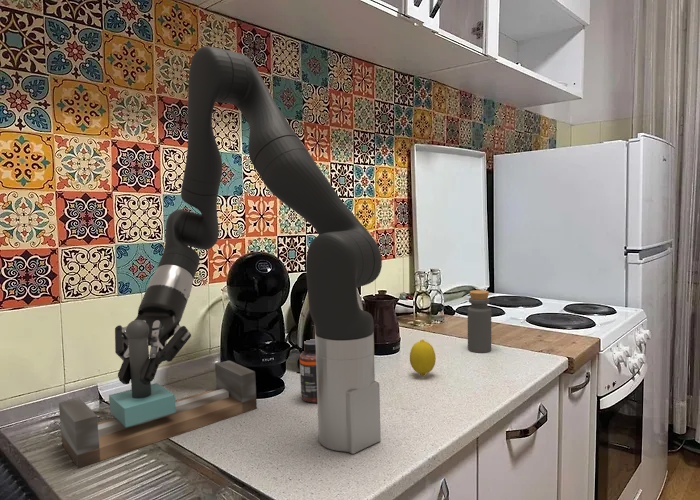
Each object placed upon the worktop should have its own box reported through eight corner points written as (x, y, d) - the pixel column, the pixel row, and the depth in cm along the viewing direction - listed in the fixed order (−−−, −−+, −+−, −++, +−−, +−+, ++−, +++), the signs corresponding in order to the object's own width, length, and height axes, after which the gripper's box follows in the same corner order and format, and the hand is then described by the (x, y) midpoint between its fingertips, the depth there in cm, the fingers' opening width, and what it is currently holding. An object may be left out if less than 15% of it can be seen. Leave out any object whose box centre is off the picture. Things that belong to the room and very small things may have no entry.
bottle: (463, 348, 126) (462, 291, 125) (481, 345, 128) (480, 288, 127) (477, 354, 121) (477, 294, 119) (496, 350, 123) (496, 292, 122)
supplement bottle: (331, 391, 99) (329, 336, 98) (332, 403, 93) (330, 344, 92) (301, 392, 98) (299, 337, 97) (300, 404, 92) (298, 346, 91)
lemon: (434, 371, 109) (434, 336, 108) (436, 380, 103) (436, 343, 103) (409, 371, 109) (409, 336, 109) (410, 380, 104) (409, 343, 103)
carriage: (157, 399, 88) (152, 312, 86) (175, 412, 82) (170, 319, 80) (110, 412, 82) (103, 320, 81) (125, 427, 76) (119, 328, 75)
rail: (230, 394, 99) (228, 360, 98) (256, 408, 91) (255, 371, 91) (62, 445, 79) (58, 402, 78) (78, 468, 71) (74, 422, 71)
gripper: (122, 283, 89) (82, 371, 78) (196, 283, 87) (164, 373, 76) (140, 306, 94) (105, 391, 83) (210, 306, 92) (182, 393, 81)
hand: (133, 382), depth 79 cm, fingers closed on carriage, 3 cm apart
